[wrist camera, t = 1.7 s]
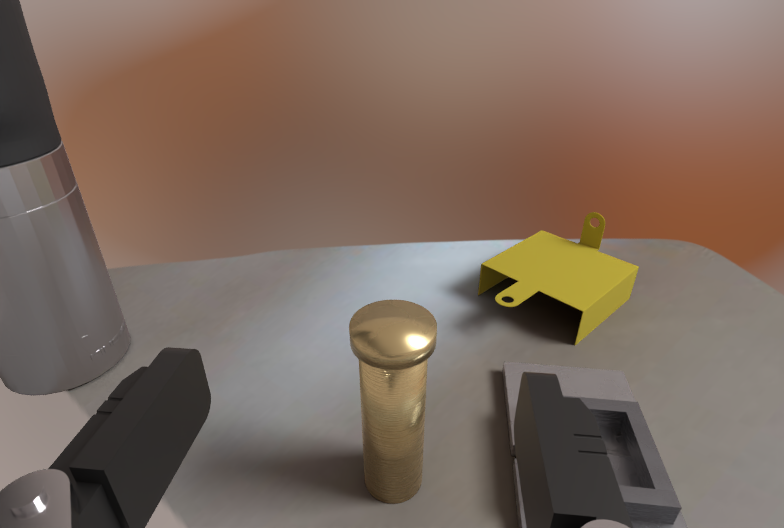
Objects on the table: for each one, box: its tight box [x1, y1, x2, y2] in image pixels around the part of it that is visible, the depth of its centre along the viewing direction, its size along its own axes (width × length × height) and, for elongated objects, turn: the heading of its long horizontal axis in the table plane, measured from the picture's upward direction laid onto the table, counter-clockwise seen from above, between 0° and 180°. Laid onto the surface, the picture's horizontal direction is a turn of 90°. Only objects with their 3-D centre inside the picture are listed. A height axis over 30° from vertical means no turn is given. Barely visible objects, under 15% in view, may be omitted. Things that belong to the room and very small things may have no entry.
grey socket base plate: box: [503, 362, 687, 528], centre depth 30 cm, size 9×17×2 cm, turn 173°
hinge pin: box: [349, 300, 437, 504], centre depth 28 cm, size 4×4×12 cm
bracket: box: [478, 212, 639, 345], centre depth 45 cm, size 16×8×15 cm
